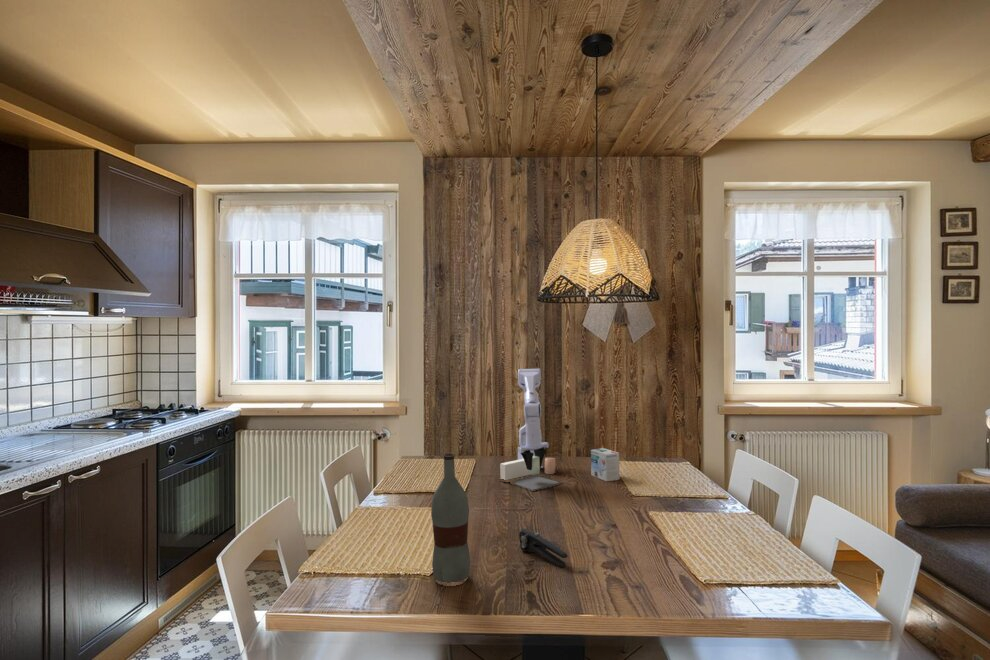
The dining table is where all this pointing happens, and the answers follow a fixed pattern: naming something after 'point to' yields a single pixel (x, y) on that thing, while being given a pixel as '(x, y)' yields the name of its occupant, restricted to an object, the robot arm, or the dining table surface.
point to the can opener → (541, 547)
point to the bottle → (450, 527)
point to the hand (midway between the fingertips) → (533, 468)
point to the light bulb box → (605, 464)
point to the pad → (536, 483)
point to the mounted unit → (513, 469)
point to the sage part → (535, 465)
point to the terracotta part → (549, 465)
